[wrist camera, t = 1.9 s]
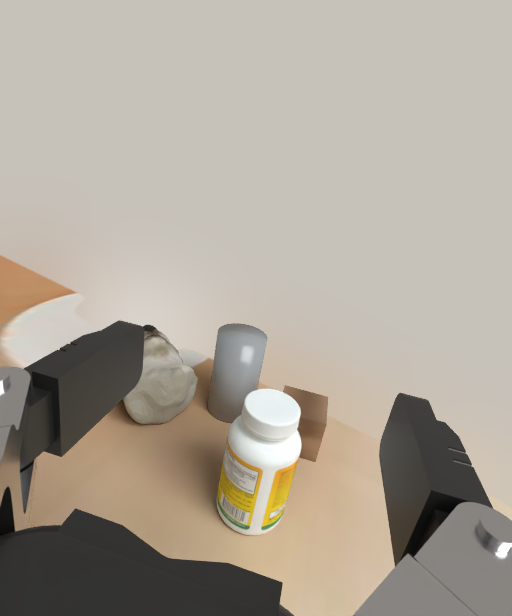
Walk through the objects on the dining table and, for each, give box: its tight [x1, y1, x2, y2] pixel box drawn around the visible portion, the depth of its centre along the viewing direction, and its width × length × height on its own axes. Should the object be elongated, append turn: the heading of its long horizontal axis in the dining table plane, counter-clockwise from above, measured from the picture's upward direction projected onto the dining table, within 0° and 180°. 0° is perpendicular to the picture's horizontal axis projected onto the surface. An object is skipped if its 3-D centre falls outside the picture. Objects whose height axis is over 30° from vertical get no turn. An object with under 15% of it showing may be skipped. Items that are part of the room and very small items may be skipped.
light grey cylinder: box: [208, 324, 267, 423], centre depth 37 cm, size 5×5×9 cm
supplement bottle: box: [216, 389, 301, 535], centre depth 26 cm, size 5×5×10 cm
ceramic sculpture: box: [123, 325, 198, 424], centre depth 37 cm, size 11×9×15 cm
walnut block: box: [283, 386, 328, 462], centre depth 35 cm, size 4×4×4 cm
